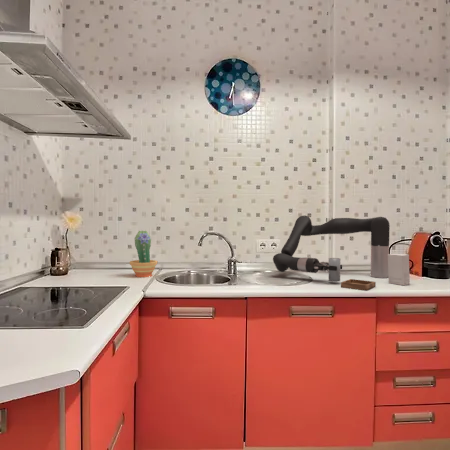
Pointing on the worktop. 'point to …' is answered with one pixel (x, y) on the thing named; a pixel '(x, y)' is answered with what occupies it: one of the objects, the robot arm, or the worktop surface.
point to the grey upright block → (334, 274)
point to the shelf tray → (358, 284)
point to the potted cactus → (143, 256)
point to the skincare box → (398, 269)
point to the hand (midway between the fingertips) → (339, 267)
